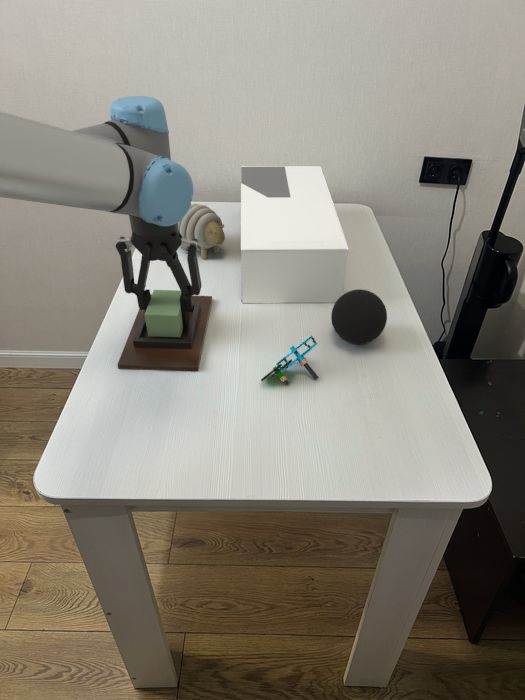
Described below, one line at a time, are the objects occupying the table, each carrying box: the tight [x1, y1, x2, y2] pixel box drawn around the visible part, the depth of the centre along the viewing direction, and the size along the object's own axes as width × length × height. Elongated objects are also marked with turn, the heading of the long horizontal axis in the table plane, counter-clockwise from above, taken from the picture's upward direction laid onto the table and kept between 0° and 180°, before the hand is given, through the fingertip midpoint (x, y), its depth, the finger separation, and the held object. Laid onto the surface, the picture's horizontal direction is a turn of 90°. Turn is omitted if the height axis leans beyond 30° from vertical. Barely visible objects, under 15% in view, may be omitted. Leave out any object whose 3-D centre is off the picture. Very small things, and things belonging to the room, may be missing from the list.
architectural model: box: [240, 165, 350, 304], centre depth 115 cm, size 45×21×12 cm, turn 2°
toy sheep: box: [178, 203, 226, 260], centre depth 115 cm, size 11×17×11 cm, turn 52°
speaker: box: [330, 289, 388, 345], centre depth 89 cm, size 10×10×10 cm
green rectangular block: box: [145, 289, 183, 337], centre depth 91 cm, size 8×6×5 cm
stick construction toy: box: [260, 335, 319, 386], centre depth 83 cm, size 12×7×8 cm
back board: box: [117, 293, 213, 372], centre depth 93 cm, size 22×14×2 cm, turn 178°
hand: (168, 322), depth 92 cm, fingers closed on green rectangular block, 6 cm apart
